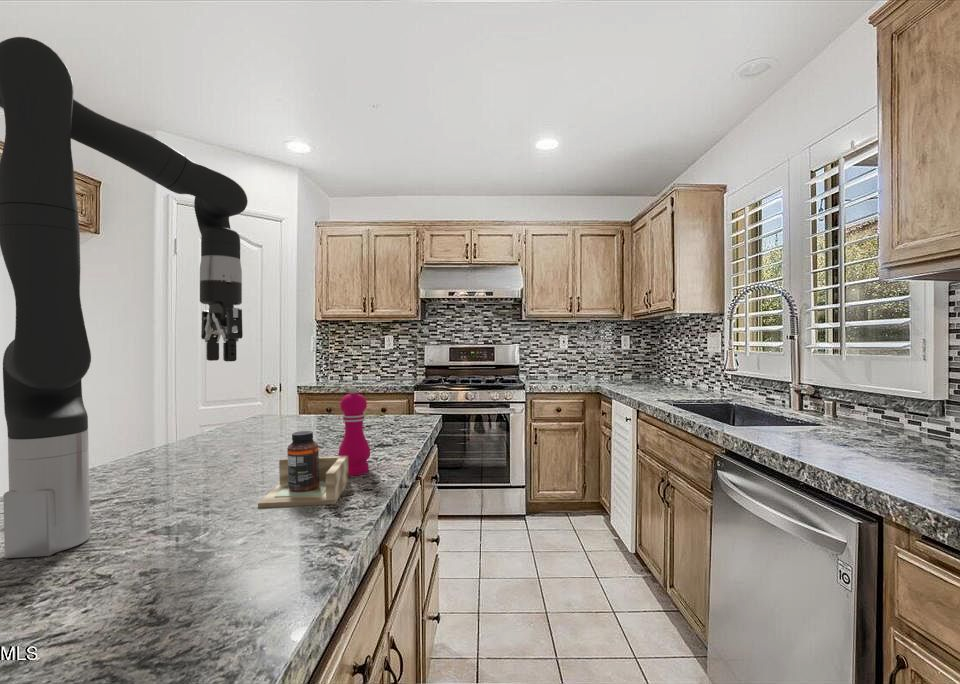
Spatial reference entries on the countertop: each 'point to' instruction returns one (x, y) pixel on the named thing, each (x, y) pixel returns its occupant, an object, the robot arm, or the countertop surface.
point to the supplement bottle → (303, 462)
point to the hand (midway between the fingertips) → (221, 360)
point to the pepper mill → (354, 433)
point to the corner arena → (327, 492)
